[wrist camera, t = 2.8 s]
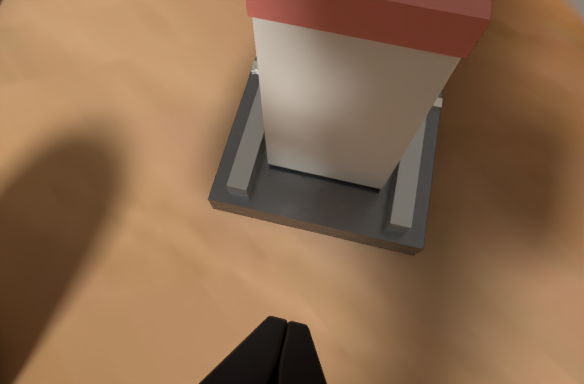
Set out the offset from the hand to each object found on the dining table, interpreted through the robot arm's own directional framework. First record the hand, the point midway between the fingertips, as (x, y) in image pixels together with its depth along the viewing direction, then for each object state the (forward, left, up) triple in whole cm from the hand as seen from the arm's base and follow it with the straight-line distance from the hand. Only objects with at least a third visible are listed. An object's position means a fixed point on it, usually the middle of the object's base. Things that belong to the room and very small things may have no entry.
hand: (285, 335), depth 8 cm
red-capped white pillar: (+6, +9, -10) cm, 15 cm away
